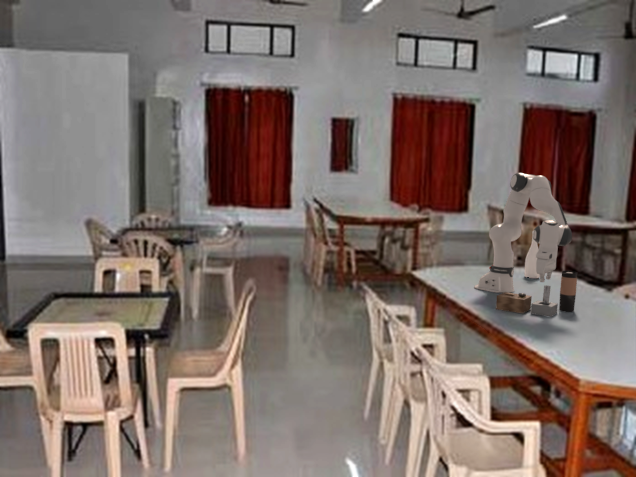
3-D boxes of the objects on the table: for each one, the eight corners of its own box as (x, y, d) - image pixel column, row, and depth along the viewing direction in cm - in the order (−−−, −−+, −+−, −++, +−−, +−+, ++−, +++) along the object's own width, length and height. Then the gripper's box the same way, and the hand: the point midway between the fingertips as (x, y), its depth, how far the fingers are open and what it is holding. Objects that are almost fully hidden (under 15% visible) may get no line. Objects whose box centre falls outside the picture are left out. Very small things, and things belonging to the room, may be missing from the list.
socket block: (495, 309, 361) (496, 295, 360) (504, 305, 371) (505, 292, 370) (522, 313, 353) (523, 299, 352) (530, 309, 363) (531, 295, 362)
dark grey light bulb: (516, 309, 359) (517, 293, 358) (518, 308, 362) (519, 292, 361) (523, 310, 357) (524, 294, 356) (525, 309, 360) (526, 293, 359)
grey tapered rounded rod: (540, 313, 355) (543, 286, 352) (542, 312, 357) (545, 285, 355) (546, 314, 353) (549, 287, 351) (548, 313, 355) (551, 286, 353)
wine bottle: (541, 279, 450) (545, 232, 446) (526, 278, 450) (530, 231, 446) (537, 276, 459) (540, 230, 455) (522, 275, 459) (525, 229, 455)
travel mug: (574, 309, 366) (577, 271, 363) (574, 312, 359) (577, 273, 356) (558, 308, 368) (561, 270, 366) (558, 311, 361) (561, 272, 358)
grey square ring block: (530, 313, 354) (531, 303, 353) (537, 309, 362) (537, 300, 361) (550, 316, 348) (551, 306, 348) (556, 313, 356) (557, 303, 356)
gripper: (548, 250, 361) (545, 276, 363) (534, 254, 345) (532, 282, 347) (560, 251, 358) (557, 278, 360) (547, 256, 341) (545, 284, 343)
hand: (545, 280), depth 353 cm, fingers open, 8 cm apart
